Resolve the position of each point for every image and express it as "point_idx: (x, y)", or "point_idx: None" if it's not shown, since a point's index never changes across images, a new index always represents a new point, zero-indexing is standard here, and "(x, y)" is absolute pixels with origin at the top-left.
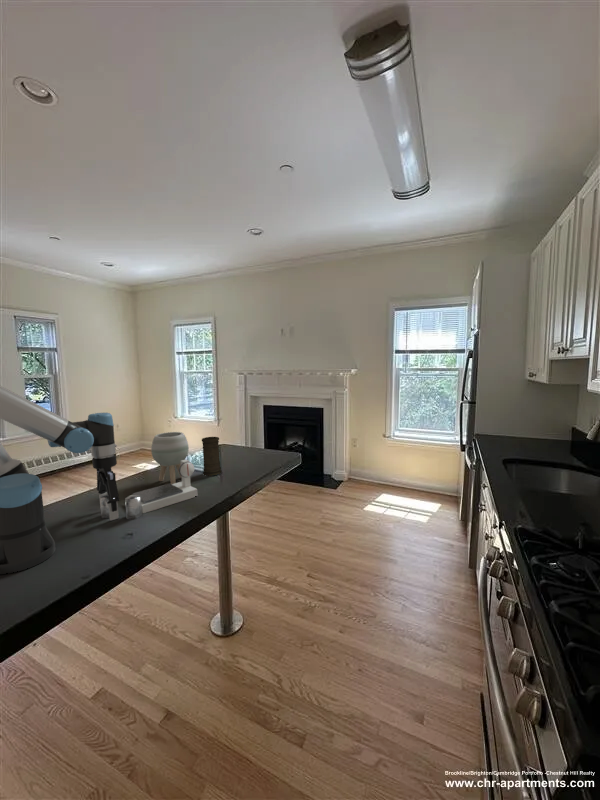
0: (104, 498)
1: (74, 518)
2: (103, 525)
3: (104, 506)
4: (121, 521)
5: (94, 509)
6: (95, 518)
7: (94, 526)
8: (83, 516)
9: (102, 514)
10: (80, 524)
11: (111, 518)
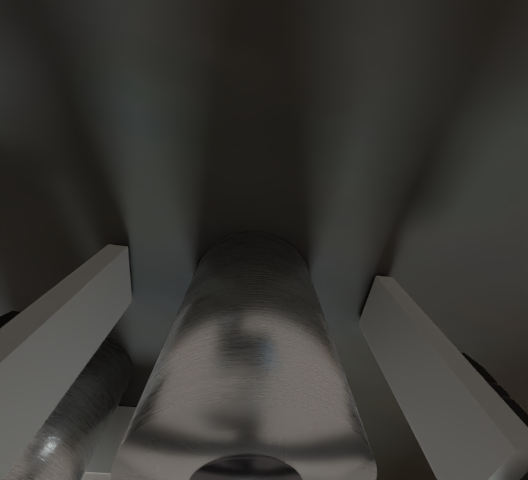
0: (203, 447)
1: (502, 52)
2: (60, 170)
3: (187, 317)
4: (46, 288)
5: (487, 263)
6: (289, 191)
7: (97, 103)
8: (448, 140)
9: (238, 247)
10: (275, 22)
11: (97, 260)
